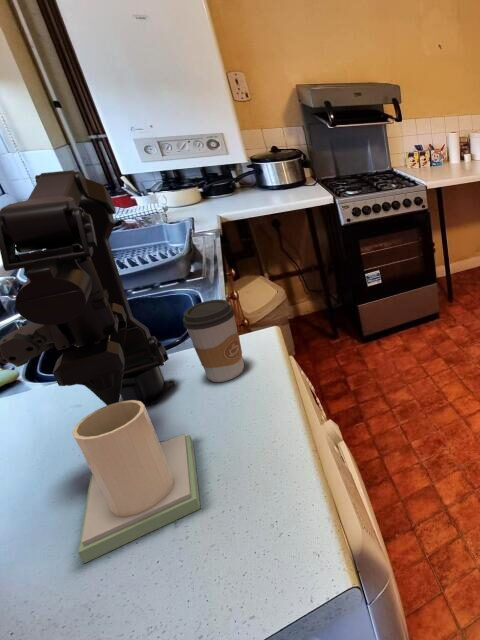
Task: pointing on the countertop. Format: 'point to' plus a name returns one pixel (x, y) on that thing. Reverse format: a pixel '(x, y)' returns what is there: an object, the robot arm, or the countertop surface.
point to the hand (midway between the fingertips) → (115, 388)
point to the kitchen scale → (115, 531)
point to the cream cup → (125, 457)
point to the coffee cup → (215, 339)
